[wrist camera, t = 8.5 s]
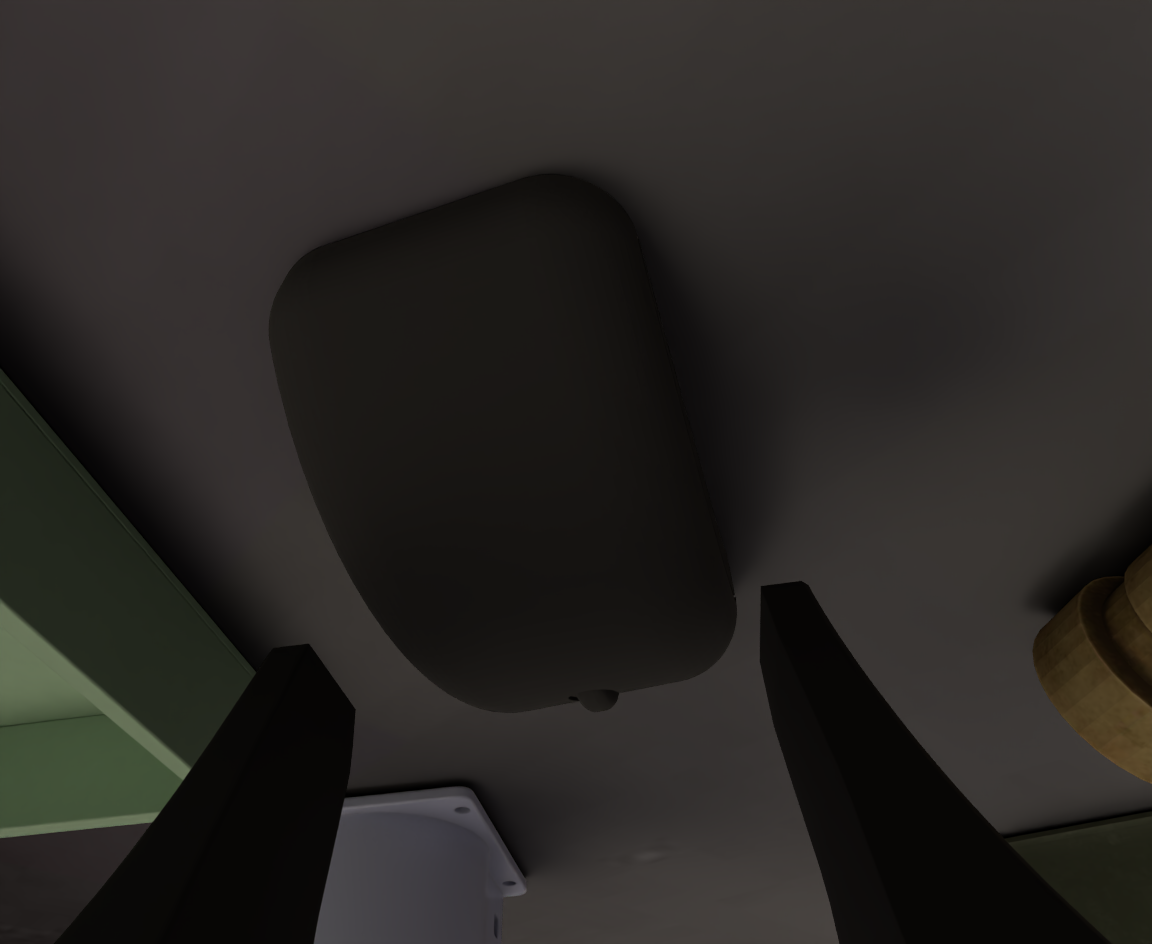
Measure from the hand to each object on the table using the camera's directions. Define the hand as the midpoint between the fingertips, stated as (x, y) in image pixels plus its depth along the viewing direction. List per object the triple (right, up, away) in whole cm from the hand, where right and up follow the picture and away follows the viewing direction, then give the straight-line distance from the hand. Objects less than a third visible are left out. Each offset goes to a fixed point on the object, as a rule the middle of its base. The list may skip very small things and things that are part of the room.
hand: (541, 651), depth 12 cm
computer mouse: (0, +3, +3) cm, 5 cm away
